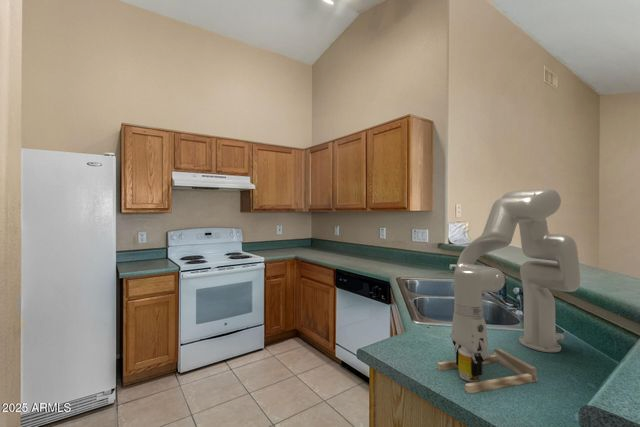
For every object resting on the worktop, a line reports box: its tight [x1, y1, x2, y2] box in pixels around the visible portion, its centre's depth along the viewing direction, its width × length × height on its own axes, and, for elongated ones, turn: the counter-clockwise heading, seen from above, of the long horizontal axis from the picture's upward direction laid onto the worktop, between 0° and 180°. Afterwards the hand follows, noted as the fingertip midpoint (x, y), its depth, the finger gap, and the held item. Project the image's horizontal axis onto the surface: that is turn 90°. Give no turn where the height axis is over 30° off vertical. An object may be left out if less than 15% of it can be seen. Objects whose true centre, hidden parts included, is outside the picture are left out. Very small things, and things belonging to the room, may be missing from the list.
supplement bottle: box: [458, 346, 480, 383], centre depth 87 cm, size 6×6×10 cm
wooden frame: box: [436, 347, 538, 394], centre depth 89 cm, size 24×13×4 cm, turn 104°
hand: (468, 369), depth 87 cm, fingers closed on supplement bottle, 5 cm apart
